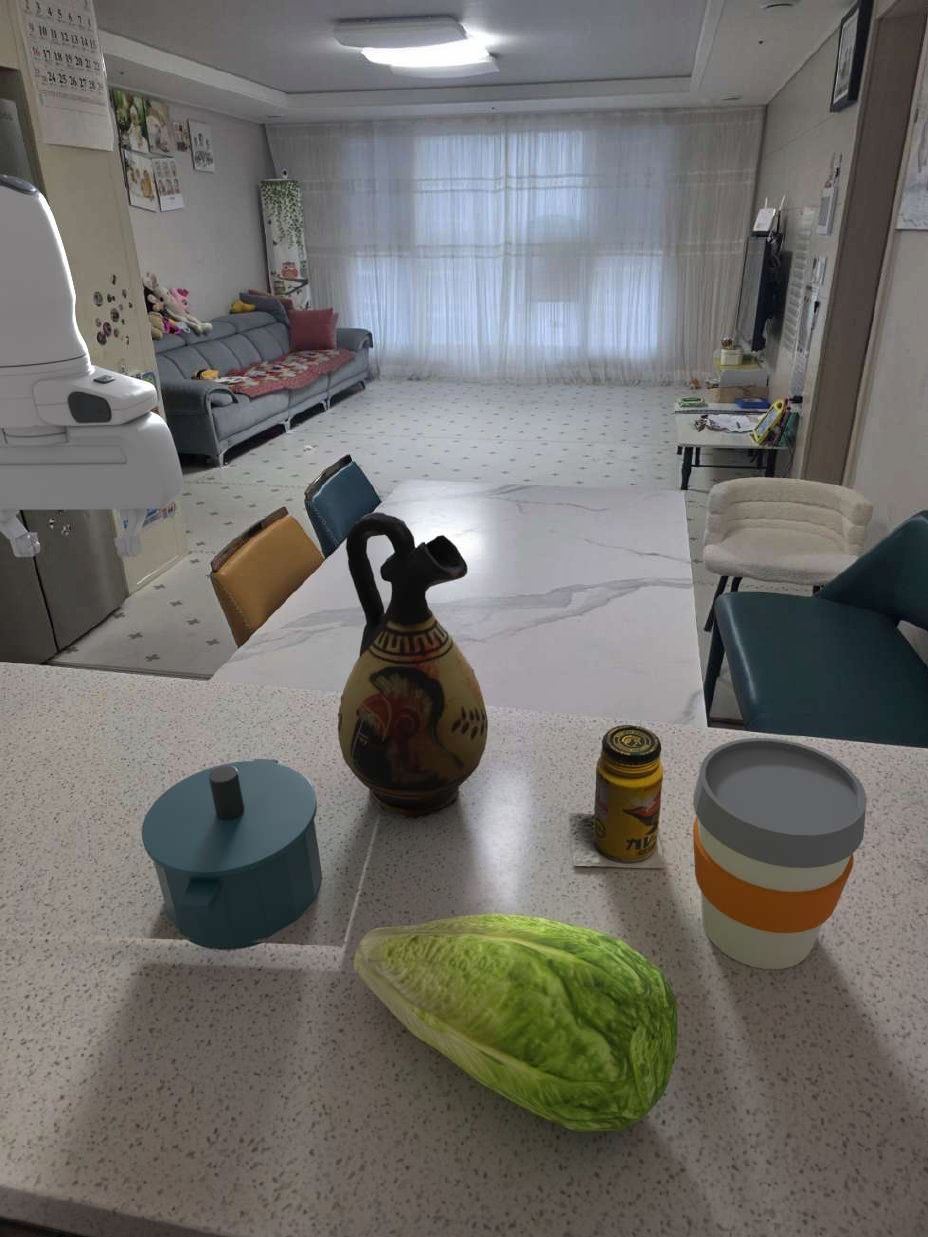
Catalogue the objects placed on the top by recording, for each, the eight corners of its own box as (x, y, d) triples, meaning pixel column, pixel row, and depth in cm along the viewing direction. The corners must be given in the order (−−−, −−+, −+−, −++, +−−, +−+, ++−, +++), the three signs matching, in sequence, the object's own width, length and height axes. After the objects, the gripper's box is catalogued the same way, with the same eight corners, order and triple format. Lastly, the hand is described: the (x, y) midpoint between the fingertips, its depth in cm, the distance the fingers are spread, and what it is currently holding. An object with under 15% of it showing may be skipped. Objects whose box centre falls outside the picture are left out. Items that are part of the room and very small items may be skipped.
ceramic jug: (513, 765, 91) (511, 506, 78) (446, 853, 79) (430, 564, 66) (383, 729, 98) (361, 486, 85) (303, 805, 86) (263, 535, 73)
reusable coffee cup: (853, 998, 63) (891, 846, 56) (684, 977, 65) (702, 829, 59) (820, 880, 74) (849, 742, 67) (676, 866, 76) (691, 730, 70)
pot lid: (113, 880, 66) (98, 829, 64) (184, 769, 79) (173, 723, 77) (292, 886, 65) (284, 835, 62) (334, 772, 78) (328, 726, 76)
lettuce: (414, 863, 70) (330, 873, 59) (703, 951, 59) (666, 984, 48) (384, 1008, 69) (292, 1046, 58) (675, 1126, 58) (630, 1202, 47)
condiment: (665, 869, 76) (675, 762, 71) (573, 867, 77) (576, 761, 71) (654, 817, 82) (663, 716, 77) (569, 815, 83) (572, 715, 78)
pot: (129, 972, 67) (105, 895, 64) (211, 819, 84) (196, 751, 81) (291, 980, 66) (277, 901, 62) (341, 823, 83) (333, 754, 79)
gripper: (-110, 405, 65) (-55, 568, 71) (141, 401, 63) (175, 568, 69) (-58, 390, 70) (-11, 542, 76) (174, 385, 68) (202, 541, 75)
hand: (79, 554), depth 73 cm, fingers open, 8 cm apart
